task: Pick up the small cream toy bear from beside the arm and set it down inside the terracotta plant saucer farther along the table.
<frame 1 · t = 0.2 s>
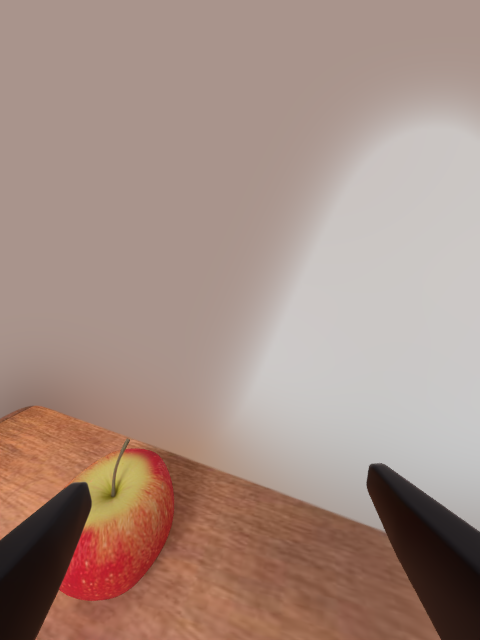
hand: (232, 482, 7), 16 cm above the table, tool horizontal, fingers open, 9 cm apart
apple: (126, 553, 19), on the table
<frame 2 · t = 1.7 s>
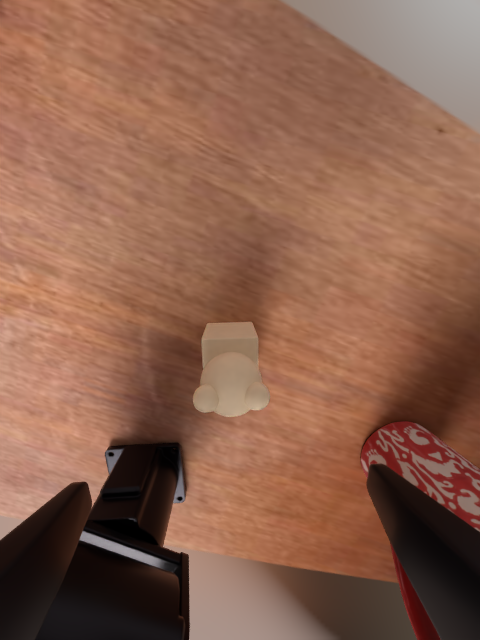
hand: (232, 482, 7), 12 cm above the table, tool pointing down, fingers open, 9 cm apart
bear: (230, 347, 19), on the table
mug: (384, 463, 23), on the table
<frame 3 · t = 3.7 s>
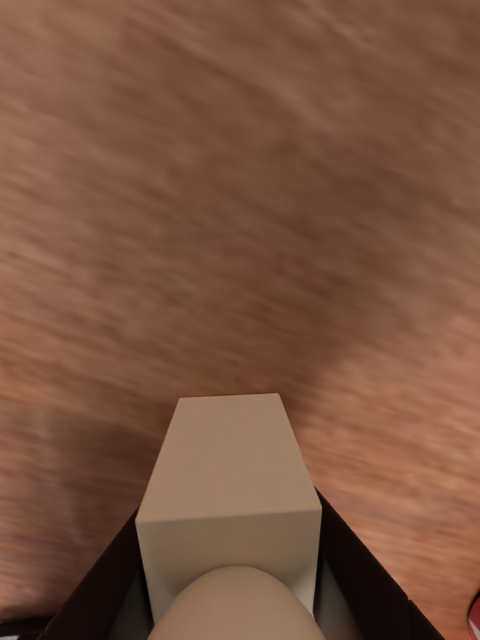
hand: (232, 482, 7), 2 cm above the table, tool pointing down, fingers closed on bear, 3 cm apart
bear: (231, 445, 9), on the table, touching gripper
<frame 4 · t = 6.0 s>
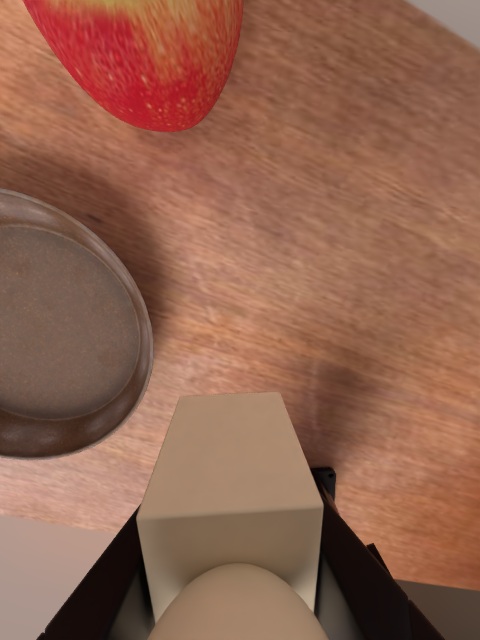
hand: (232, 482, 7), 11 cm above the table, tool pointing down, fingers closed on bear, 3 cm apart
apple: (169, 84, 14), on the table
bear: (232, 443, 9), point 10 cm above the table, touching gripper
plant saucer: (46, 328, 17), on the table
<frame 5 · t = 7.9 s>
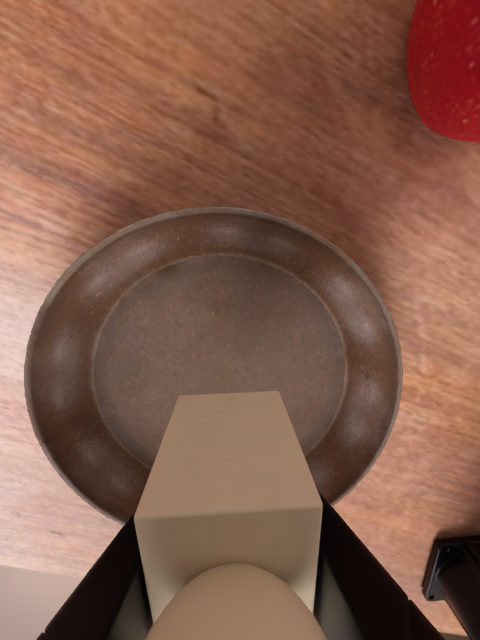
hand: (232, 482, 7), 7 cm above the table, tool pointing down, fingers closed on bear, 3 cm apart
apple: (448, 78, 11), on the table
bear: (231, 443, 9), point 5 cm above the table, touching gripper
plant saucer: (223, 376, 14), on the table
when the fingers open (5 cm above the table, at t = 8.8 s): bear stays where it is, resting on plant saucer.
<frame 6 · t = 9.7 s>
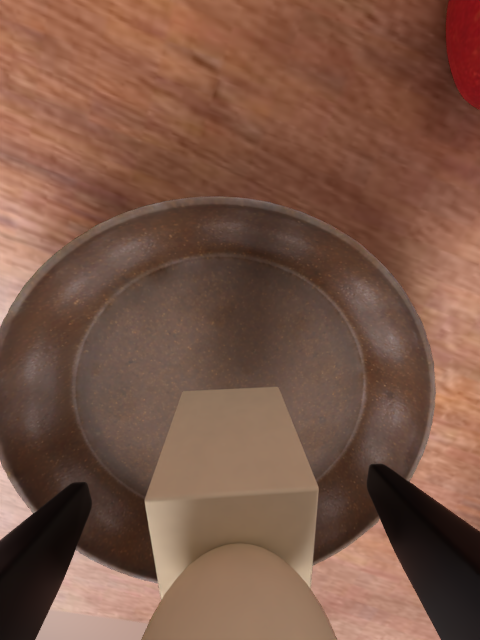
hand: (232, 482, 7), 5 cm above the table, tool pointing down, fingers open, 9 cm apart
bear: (232, 437, 9), point 3 cm above the table, touching plant saucer
plant saucer: (224, 393, 12), on the table, touching bear
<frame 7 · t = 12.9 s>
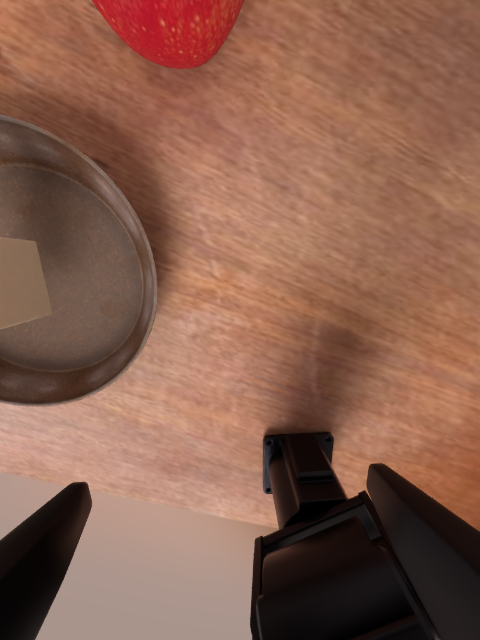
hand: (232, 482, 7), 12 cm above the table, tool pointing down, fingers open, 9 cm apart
apple: (180, 25, 14), on the table
bear: (14, 279, 14), point 3 cm above the table, touching plant saucer
plant saucer: (49, 277, 17), on the table, touching bear
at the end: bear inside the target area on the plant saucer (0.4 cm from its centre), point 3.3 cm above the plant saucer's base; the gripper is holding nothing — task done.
